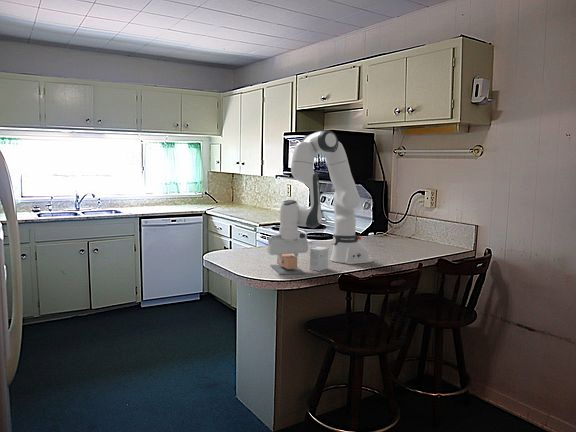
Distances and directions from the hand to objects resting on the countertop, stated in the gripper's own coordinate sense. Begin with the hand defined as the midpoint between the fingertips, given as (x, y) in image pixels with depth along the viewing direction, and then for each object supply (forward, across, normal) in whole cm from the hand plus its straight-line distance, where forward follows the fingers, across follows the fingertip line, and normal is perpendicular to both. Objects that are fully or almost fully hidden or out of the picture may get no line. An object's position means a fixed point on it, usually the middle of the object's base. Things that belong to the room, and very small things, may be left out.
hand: (287, 262), depth 235 cm
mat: (+4, 0, 0) cm, 4 cm away
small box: (+4, +16, -3) cm, 16 cm away
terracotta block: (-1, 0, +7) cm, 7 cm away
